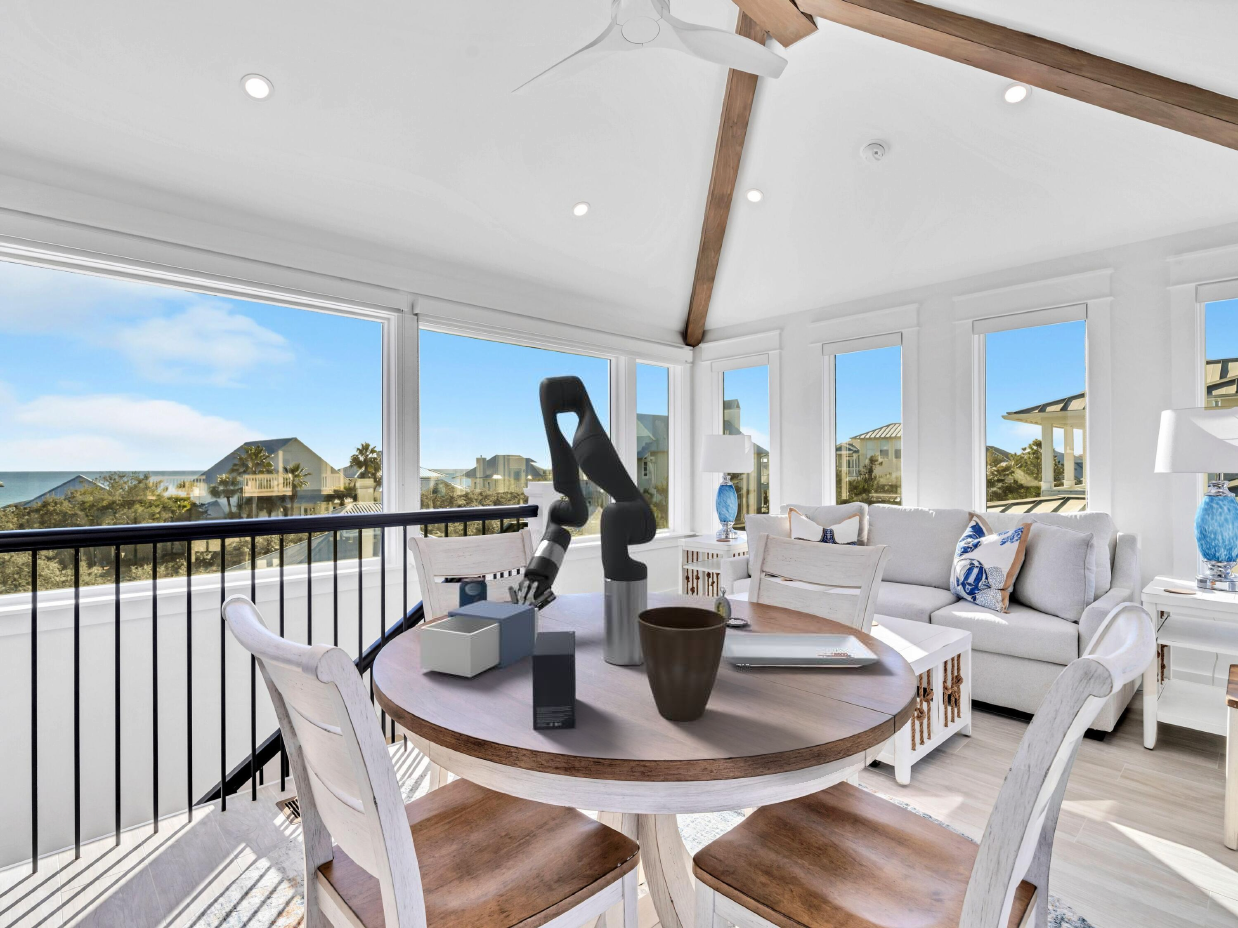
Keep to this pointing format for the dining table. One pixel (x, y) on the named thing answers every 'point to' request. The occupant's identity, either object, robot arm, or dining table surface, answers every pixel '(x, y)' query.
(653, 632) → the plant pot
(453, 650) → the tray
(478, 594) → the soda can
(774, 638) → the tray
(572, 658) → the small box
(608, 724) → the dining table surface
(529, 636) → the mailer sleeve
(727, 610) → the pocket watch
